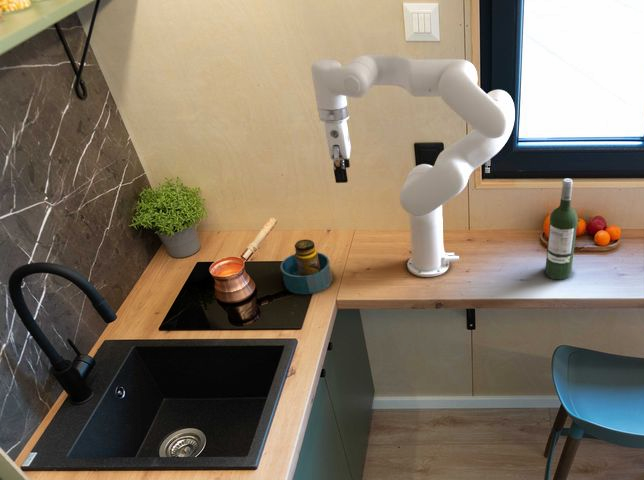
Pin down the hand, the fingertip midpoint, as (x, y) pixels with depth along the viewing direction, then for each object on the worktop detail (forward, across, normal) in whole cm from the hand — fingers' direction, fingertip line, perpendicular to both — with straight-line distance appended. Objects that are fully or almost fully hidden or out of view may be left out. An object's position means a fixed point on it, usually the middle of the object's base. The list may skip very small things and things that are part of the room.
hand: (343, 174), depth 166 cm
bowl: (+28, -10, +13) cm, 33 cm away
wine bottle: (+29, -12, -61) cm, 68 cm away
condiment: (+28, -10, +13) cm, 32 cm away
